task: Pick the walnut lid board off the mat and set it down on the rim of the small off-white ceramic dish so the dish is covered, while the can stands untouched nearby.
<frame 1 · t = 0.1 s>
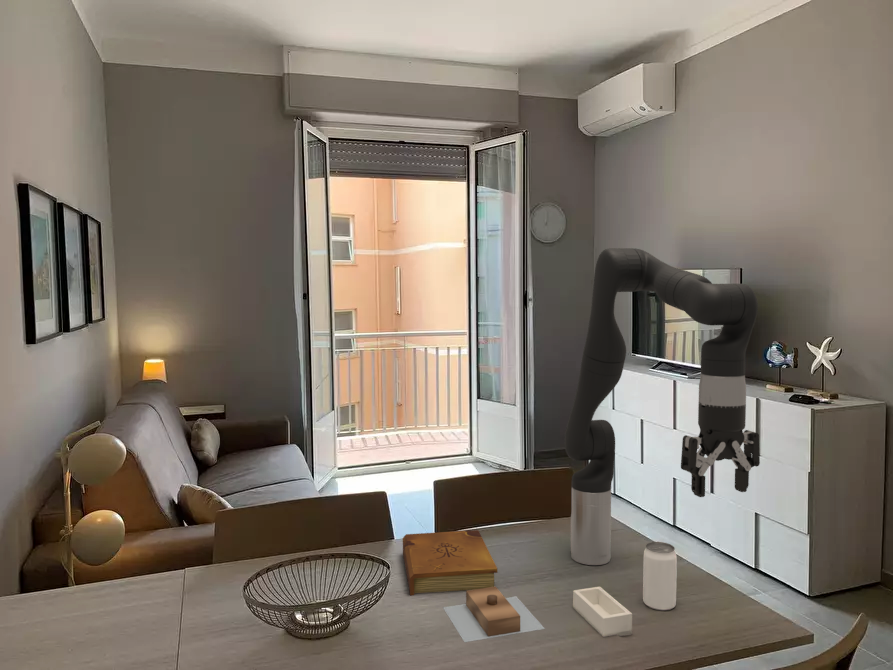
hand: (719, 493, 117), 29 cm above the table, tool pointing down, fingers open, 8 cm apart
dish: (601, 621, 132), on the table
diary: (447, 574, 155), on the table
mat: (492, 620, 133), on the table
can: (659, 604, 139), on the table
lid: (492, 617, 133), resting on mat
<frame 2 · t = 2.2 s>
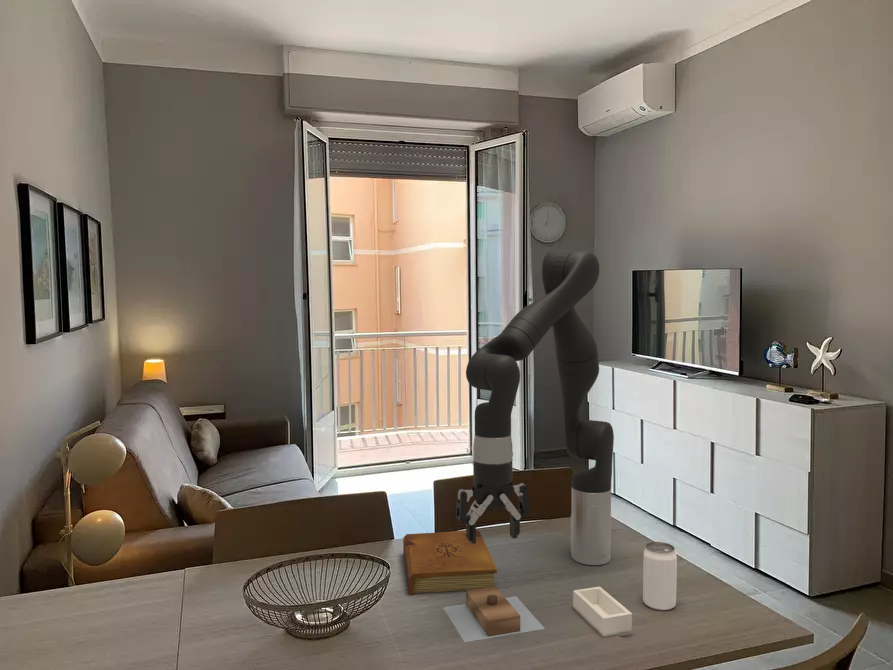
hand: (492, 539, 131), 16 cm above the table, tool pointing down, fingers open, 8 cm apart
nothing on the table moved.
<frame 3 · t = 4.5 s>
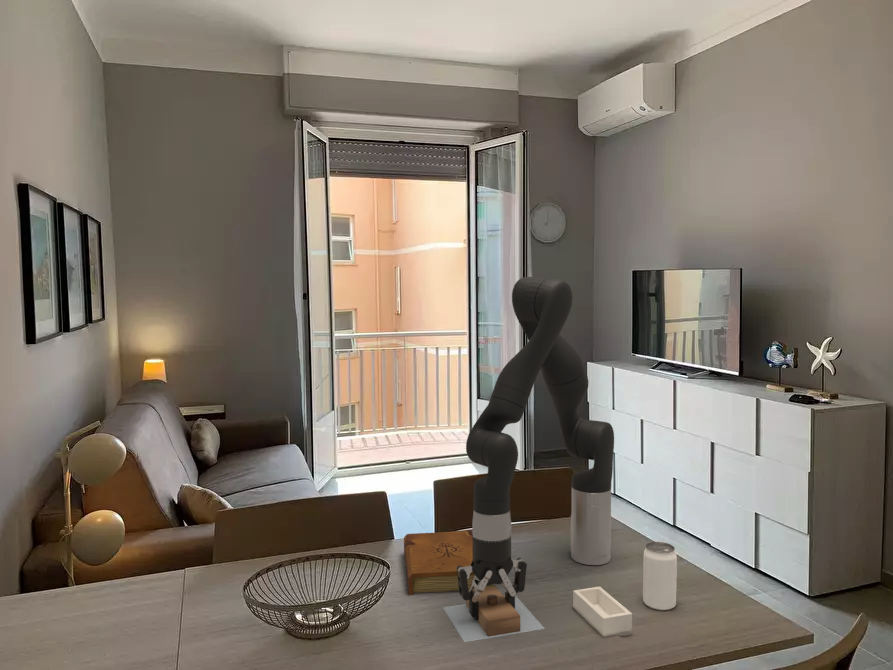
hand: (492, 615, 133), 1 cm above the table, tool pointing down, fingers closed on lid, 6 cm apart
lid: (492, 617, 133), resting on mat, touching gripper
everything else where it was.
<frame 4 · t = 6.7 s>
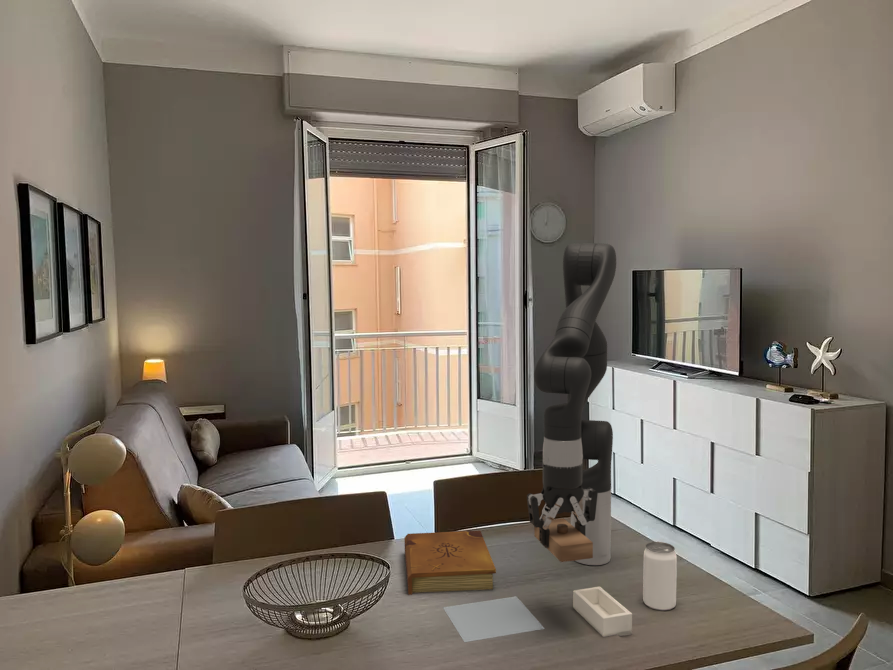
hand: (562, 544, 132), 15 cm above the table, tool pointing down, fingers closed on lid, 6 cm apart
lid: (562, 546, 132), point 15 cm above the table, touching gripper
everything else where it was.
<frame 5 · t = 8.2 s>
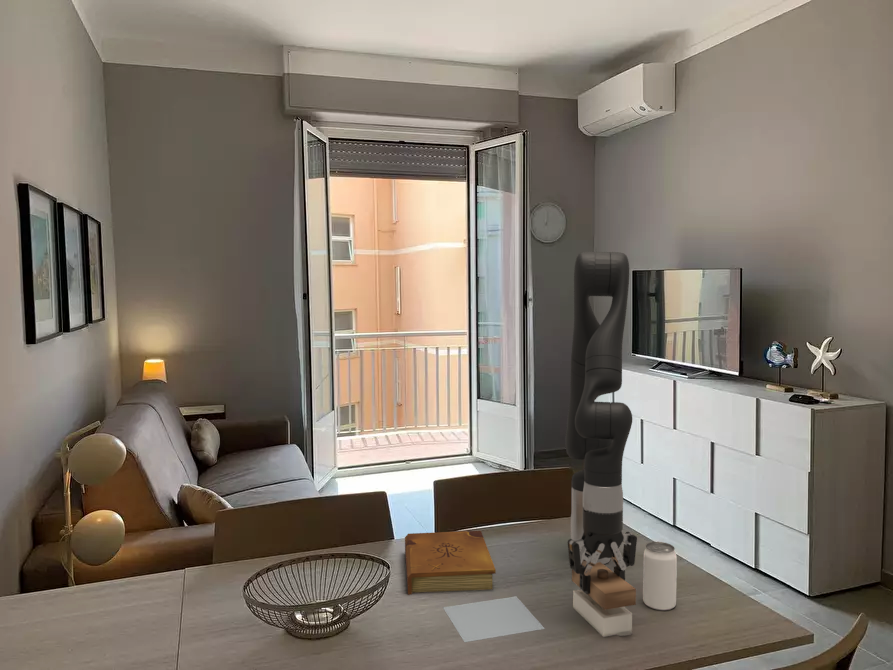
hand: (602, 589, 131), 7 cm above the table, tool pointing down, fingers closed on lid, 6 cm apart
lid: (602, 592, 131), point 6 cm above the table, touching gripper
everything else where it was.
when the fingers open (6 cm above the table, at t = 9.2 s): lid drops 1 cm, resting on dish.
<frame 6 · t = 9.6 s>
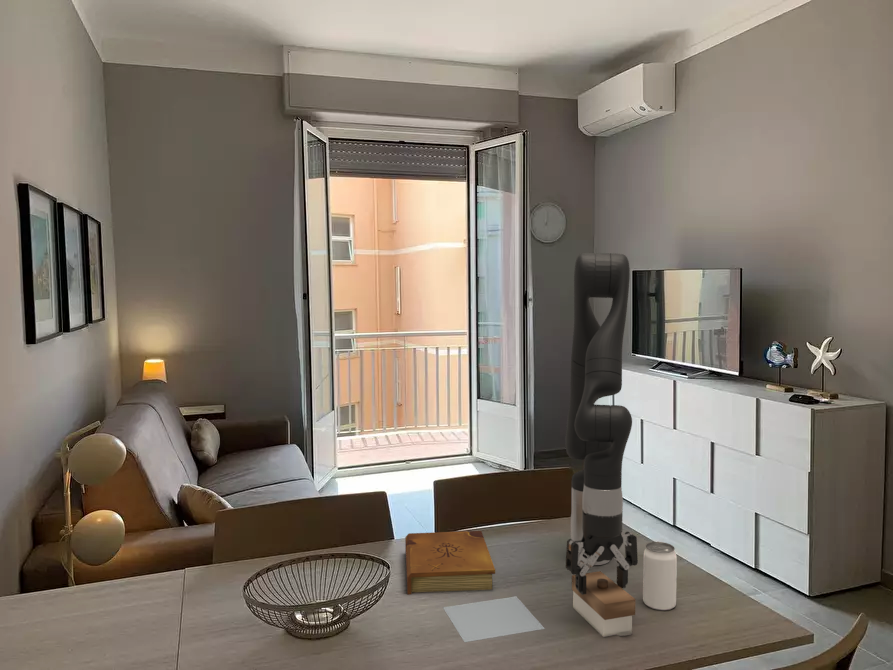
hand: (601, 589, 131), 6 cm above the table, tool pointing down, fingers open, 8 cm apart
lid: (602, 601, 132), point 4 cm above the table, touching dish
everything else where it was.
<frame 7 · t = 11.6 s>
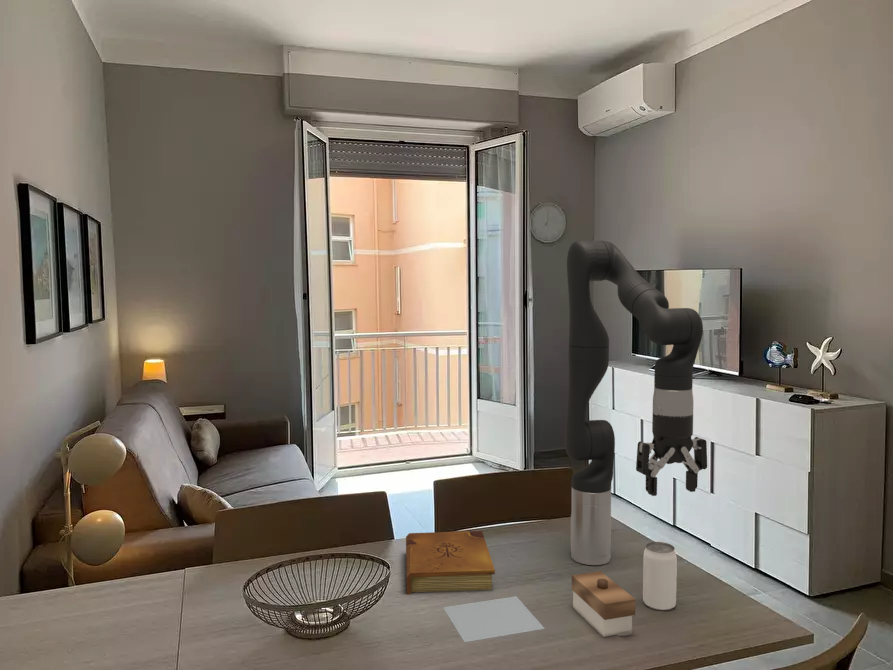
hand: (671, 492, 133), 25 cm above the table, tool pointing down, fingers open, 8 cm apart
nothing on the table moved.
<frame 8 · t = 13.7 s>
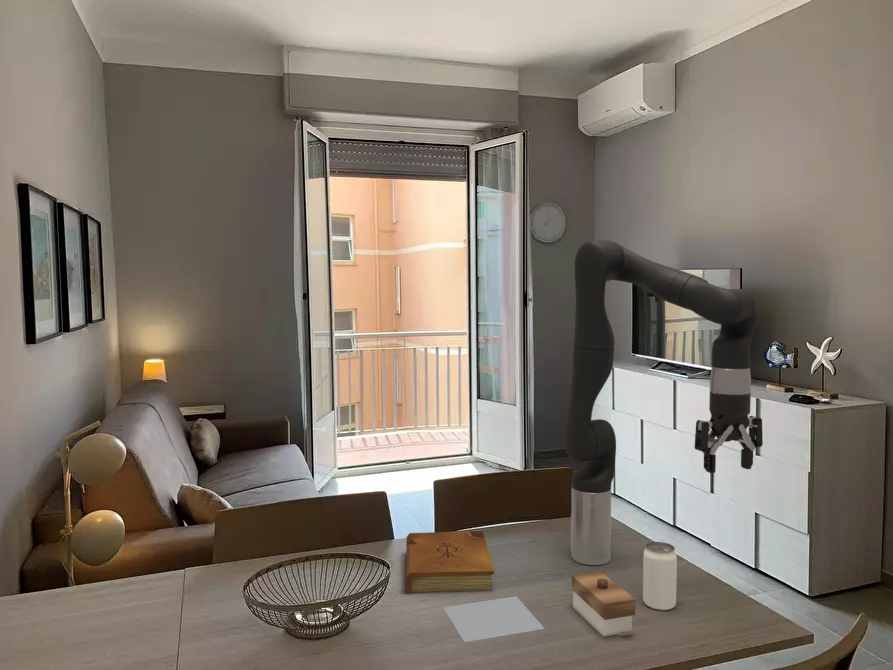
hand: (728, 470, 136), 28 cm above the table, tool pointing down, fingers open, 8 cm apart
nothing on the table moved.
at the end: lid 0.1 cm off-centre on the dish, point 4.0 cm above the dish's base; lid tilted 0°; the gripper is holding nothing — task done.
